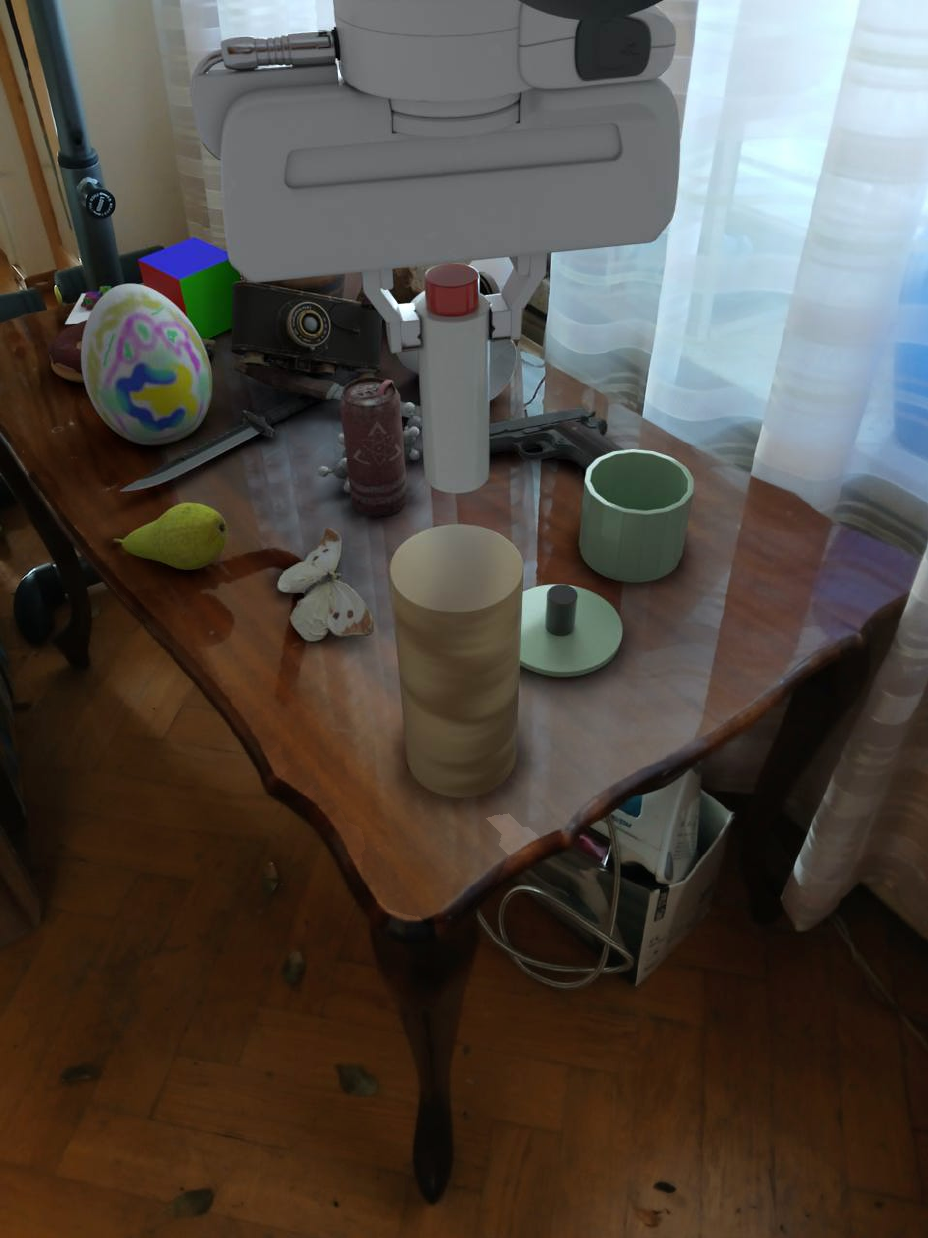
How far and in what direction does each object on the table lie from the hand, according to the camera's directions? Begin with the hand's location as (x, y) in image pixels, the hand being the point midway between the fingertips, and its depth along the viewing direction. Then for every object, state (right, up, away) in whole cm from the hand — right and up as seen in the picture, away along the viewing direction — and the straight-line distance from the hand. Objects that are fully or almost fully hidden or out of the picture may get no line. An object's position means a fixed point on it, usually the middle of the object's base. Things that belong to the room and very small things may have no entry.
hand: (454, 340), depth 49 cm
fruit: (-20, -6, +35) cm, 41 cm away
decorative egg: (-31, +6, +54) cm, 63 cm away
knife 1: (-21, +3, +49) cm, 53 cm away
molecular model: (-6, +1, +46) cm, 46 cm away
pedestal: (0, -23, +23) cm, 33 cm away
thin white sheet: (-44, +25, +73) cm, 89 cm away
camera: (-15, +20, +54) cm, 59 cm away
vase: (-17, +16, +64) cm, 68 cm away
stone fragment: (+1, +33, +69) cm, 77 cm away
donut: (-41, +15, +63) cm, 76 cm away
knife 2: (-11, +9, +55) cm, 56 cm away
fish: (-33, +16, +57) cm, 68 cm away
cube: (-31, +22, +70) cm, 80 cm away
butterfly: (-11, -12, +34) cm, 38 cm away
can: (-7, -3, +44) cm, 45 cm away
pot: (+15, -8, +39) cm, 42 cm away
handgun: (+9, -2, +42) cm, 43 cm away
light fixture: (-5, +23, +63) cm, 67 cm away
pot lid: (+8, -15, +31) cm, 35 cm away
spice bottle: (0, -6, +6) cm, 8 cm away
